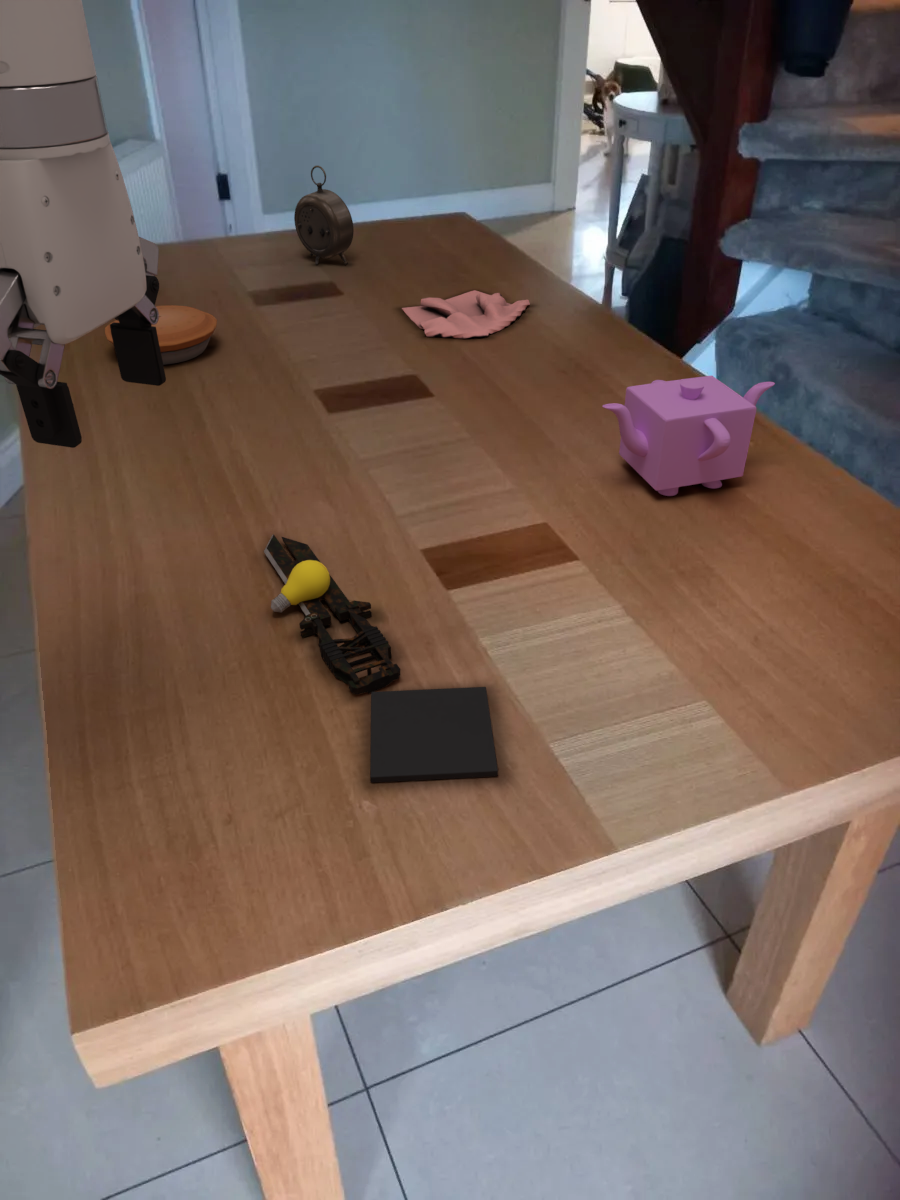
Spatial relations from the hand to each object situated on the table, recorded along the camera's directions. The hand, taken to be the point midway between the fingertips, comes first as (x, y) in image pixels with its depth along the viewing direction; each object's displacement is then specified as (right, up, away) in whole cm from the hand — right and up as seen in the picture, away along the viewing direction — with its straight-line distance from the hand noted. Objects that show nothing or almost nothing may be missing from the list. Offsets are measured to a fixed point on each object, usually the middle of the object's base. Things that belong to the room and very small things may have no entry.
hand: (104, 410), depth 60 cm
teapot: (+48, +1, +41) cm, 63 cm away
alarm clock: (0, +49, +108) cm, 118 cm away
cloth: (+26, +32, +84) cm, 94 cm away
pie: (-18, +23, +72) cm, 78 cm away
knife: (+11, -13, +22) cm, 28 cm away
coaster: (+21, -22, +9) cm, 32 cm away
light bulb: (+10, -12, +20) cm, 25 cm away
